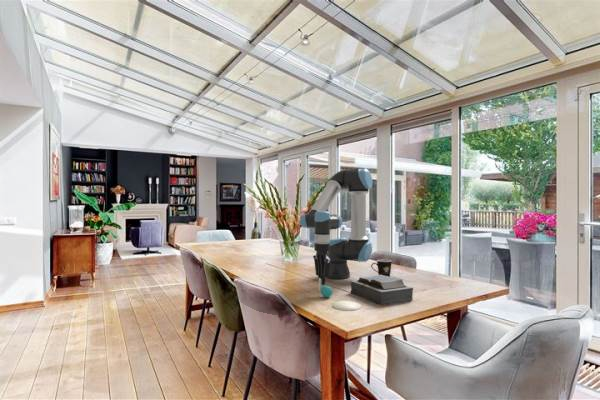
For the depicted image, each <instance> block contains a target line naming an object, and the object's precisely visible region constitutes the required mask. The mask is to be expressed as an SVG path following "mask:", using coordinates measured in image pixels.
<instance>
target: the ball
mask: <svg viewBox="0 0 600 400" xmlns="http://www.w3.org/2000/svg"><path fill="white" fill-rule="evenodd" d="M320 294H321V296H322V297H323V298H327V299H328V298H330V297H331V296H332V295H333V289H332V287H331V286H329V285H325V286H324V287H323V288H322V289H321V292H320Z"/></svg>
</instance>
